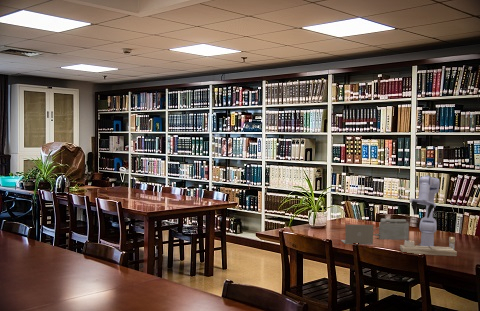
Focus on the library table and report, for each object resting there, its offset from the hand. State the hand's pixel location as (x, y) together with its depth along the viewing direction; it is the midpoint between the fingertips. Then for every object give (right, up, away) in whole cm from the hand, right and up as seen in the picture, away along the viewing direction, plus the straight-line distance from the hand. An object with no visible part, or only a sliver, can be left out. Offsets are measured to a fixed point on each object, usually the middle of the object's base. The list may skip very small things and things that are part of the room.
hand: (421, 215), depth 298 cm
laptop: (-30, -22, +36) cm, 52 cm away
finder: (-3, -20, +14) cm, 24 cm away
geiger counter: (-4, -22, +49) cm, 54 cm away
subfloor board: (+7, -23, +9) cm, 26 cm away
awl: (+25, -23, +16) cm, 38 cm away
